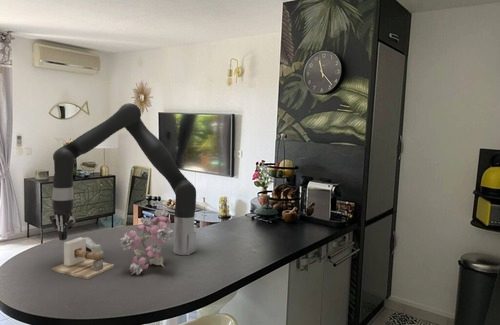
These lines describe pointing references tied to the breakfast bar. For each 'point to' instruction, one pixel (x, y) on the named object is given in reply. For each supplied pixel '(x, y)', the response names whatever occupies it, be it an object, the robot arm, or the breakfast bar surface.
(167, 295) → the breakfast bar surface
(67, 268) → the pipe rig
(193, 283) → the breakfast bar surface
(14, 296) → the breakfast bar surface
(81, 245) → the collar
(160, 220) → the flower
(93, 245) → the light grey long piece
